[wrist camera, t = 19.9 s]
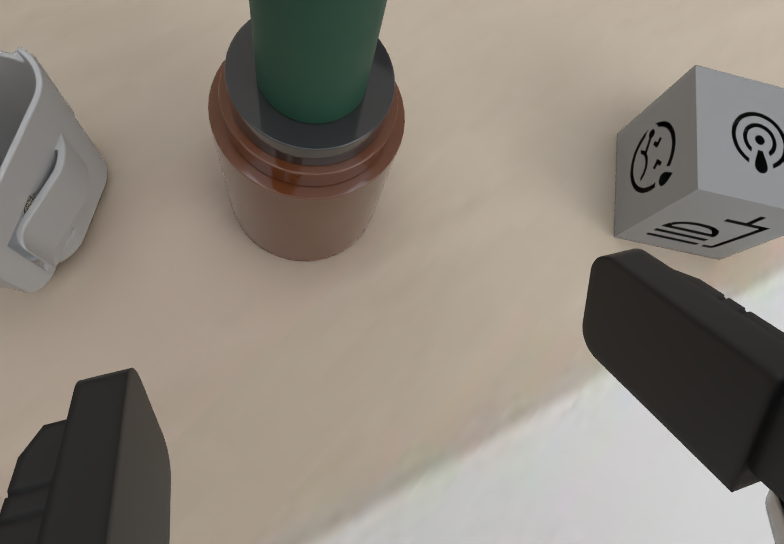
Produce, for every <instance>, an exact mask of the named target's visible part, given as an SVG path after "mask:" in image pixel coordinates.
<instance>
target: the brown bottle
mask: <svg viewBox="0 0 784 544" xmlns="http://www.w3.org/2000/svg"><path fill="white" fill-rule="evenodd" d="M208 110H209V120H210V124H211V129H212V133H213V136H214V140H215V144H216V148H217V152H218V155H219V159H220V163H221V167H222V171H223V174H224V178H225V182H226V186H227V190H228V193H229V197H230V201H231V205H232V209H233V212H234V215H235V217H236V220H237V221H238V223H239V225H240V227H241V228H242V230H243V231H244V232H245V234H246V235H247V236H248V237H249V238H250V239H251V240H252V241H253V242H254V243H255V244H257V245H258V246H259V247H261V248H262V249H264V250H266V251H267V252H269V253H271V254H274V255H276V256H278V257H282V258H285V259H289V260H296V261H314V260H320V259H325V258H328V257H331V256H334V255H336V254H338V253H340V252H342V251H344V250H345V249H347V248H348V247H349V246H351V245H352V244H353V243H354V242H355V241H356V240H357V239H358V238H359V237H360V236H361V235H362V233H363V232H364V230H365V229H366V227H367V225H368V223H369V221H370V219H371V216H372V214H373V211H374V209H375V206H376V204H377V201H378V199H379V196H380V194H381V191H382V189H383V186H384V184H385V181H386V179H387V176H388V174H389V171H390V169H391V166H392V164H393V161H394V159H395V156H396V154H397V151H398V149H399V146H400V144H401V140H402V136H403V133H404V123H405V117H404V107H403V101H402V97H401V94H400V91H399V89H398V86H397V84H396V82H395V76H394V71H393V66H392V63H391V60H390V57H389V55H388V53H387V51H386V49H385V47H384V46H383V44H382V43H381V41H380V40H379V39H378V41H377V45H376V50H375V54H374V58H373V63H372V67H371V71H370V76H369V80H368V84H367V88H366V92H365V95H364V97H363V99H362V101H361V102H360V104H359V105H358V106H357V107H356V108H355V109H354V110H353V111H352V112H351V113H350V114H348V115H346V116H345V117H343V118H341V119H339V120H336V121H333V122H329V123H322V124H312V123H304V122H300V121H296V120H293V119H291V118H289V117H287V116H285V115H283V114H281V113H280V112H279V111H277V110H276V109H275V108H274V107H273V106H272V105H270V104H269V102H268V101H267V100H266V99H265V97H264V96H263V94H262V92H261V90H260V88H259V86H258V82H257V78H256V68H255V57H254V47H253V36H252V25H251V19H250V20H249V21H248V22H247V23H246V24H244V25H243V26H242V27H241V29H240V30H239V31H238V32H237V34H236V35H235V37H234V38H233V40H232V42H231V44H230V46H229V49H228V51H227V55H226V59H225V61H224V62H223V63H222V64H221V66H220V68H219V70H218V71H217V73H216V75H215V77H214V80H213V82H212V85H211V90H210V94H209V104H208Z"/></svg>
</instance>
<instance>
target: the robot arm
mask: <svg viewBox="0 0 784 544" xmlns="http://www.w3.org/2000/svg"><path fill="white" fill-rule="evenodd" d="M583 335H584V339H585V342H586V345H587V347H588V349H589V350H590V352H591V353H592V355H593V356H594V357H595V358H596V359H597V360H598V361H599V362H600V363H601V364H602V365H603V366H604V367H605V368H606V369H607V370H608V371H609V372H610V373H611V374H612V375H613V376H614V377H615V378H616V379H617V380H618V381H619V382H620V383H621V384H622V385H623V386H624V387H625V388H626V389H627V390H628V391H629V392H630V393H631V394H632V395H633V396H634V397H635V398H636V399H638V400H639V401H640V402H641V403H642V404H643V405H644V406H645V407H646V408H647V409H648V410H649V411H650V412H651V413H652V414H653V415H654V416H655V417H656V418H657V419H658V420H659V421H660V422H661V423H662V424H663V425H664V426H665V427H666V428H667V429H668V430H669V431H670V432H671V433H672V434H673V435H674V436H675V437H676V438H677V439H678V440H679V441H680V442H681V443H682V444H683V445H684V446H685V447H686V448H687V449H688V450H689V451H690V452H691V453H692V454H693V455H694V456H695V457H696V458H697V459H698V460H699V461H700V462H701V463H702V464H703V465H704V466H706V467H707V468H708V469H709V470H710V471H711V472H712V473H713V474H714V475H715V476H716V477H717V478H718V479H719V480H720V481H721V482H722V483H723V484H724V485H725V486H726V487H727V488H728V489H729V490H730V491H731V492H734V491H736V490H739V489H741V488H744V487H747V486H749V485H752V484H754V483H757V482H759V481H761V482H763V483H764V484H765V485H766V486H767V487H768V488H769V489H770V490H769V492H768V494H767V497H766V502H765V504H766V510H767V514H768V518H769V522H770V526H771V530H772V534H773V537H774V541H775V544H784V332H782V331H780V330H779V329H777V328H776V327H774V326H773V325H771V324H769V323H768V322H766V321H765V320H763V319H762V318H760V317H758V316H757V315H755V314H754V313H752V312H746V311H745V308H744V307H743V306H741V305H739V304H738V303H736V302H735V301H733V300H732V299H730V298H728V299H725V297H724V294H722V293H721V292H719V291H717V290H716V289H714V288H713V287H711V286H710V285H708V284H706V283H705V282H703V281H702V280H700V279H698V278H695V277H692V276H690V275H687V274H684V273H682V272H679V271H676V270H673V269H672V268H670V267H669V266H667V265H666V264H664V263H663V262H661V261H659V260H658V259H656V258H655V257H653V256H652V255H650V254H649V253H647V252H646V251H644V250H641V249H631V250H626V251H622V252H618V253H614V254H610V255H606V256H601V257H599V258H597V259H596V260H595V261H594V263H593V265H592V268H591V273H590V279H589V286H588V292H587V299H586V305H585V312H584V318H583ZM7 492H8V498H5V500H4V503H3V506H2V509H1V512H0V544H169V539H170V495H171V470H170V461H169V455H168V450H167V446H166V442H165V439H164V436H163V434H162V431H161V429H160V426H159V424H158V421H157V419H156V416H155V414H154V411H153V409H152V406H151V404H150V401H149V399H148V396H147V394H146V391H145V389H144V386H143V384H142V381H141V379H140V377H139V375H138V373H137V371H136V370H135V369H134V368H129V369H125V370H121V371H117V372H113V373H109V374H104V375H100V376H96V377H92V378H88V379H84V380H80V381H78V382H77V383H76V385H75V388H74V392H73V396H72V400H71V404H70V408H69V412H68V416H67V420H63V421H59V422H55V423H51V424H47V425H44V426H43V427H42V428H41V429H40V431H39V432H38V433H37V434H36V436H35V437H34V438H33V440H32V441H31V442H30V443H29V445H28V446H27V447H26V448H25V450H24V451H23V452H22V454H21V455H20V456H19V457H18V460H17V463H16V466H15V469H14V472H13V475H12V478H11V481H10V485H9V488H8V491H7Z"/></svg>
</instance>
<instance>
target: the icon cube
mask: <svg viewBox="0 0 784 544" xmlns="http://www.w3.org/2000/svg"><path fill="white" fill-rule="evenodd" d="M783 235H784V88H781V87H778V86H774V85H770V84H766V83H762V82H759V81H755V80H751V79H747V78H744V77H740V76H736V75H732V74H728V73H725V72H721V71H717V70H713V69H709V68H706V67H702V66H698V65H695V66H694V67H693V68H691V69H690V70H689V71H688V72H687V73H686V74H685V75H683V76H682V77H681V78H680V79H679V80H678V81H677V82H676V83H674V84H673V85H672V86H671V87H670V88H669V89H668V90H666V91H665V92H664V93H663V94H662V95H661V96H660V97H659V98H657V99H656V100H655V101H654V102H653V103H652V104H651V105H649V106H648V107H647V108H646V109H645V110H644V111H643V112H642V113H640V114H639V115H638V116H637V117H636V118H635V119H634V120H632V121H631V122H630V123H629V124H628V125H627V126H626V127H625V128H623V129H622V130H621V131H620V132H619V133H618V134H617V159H616V194H615V228H614V237H617V238H621V239H626V240H631V241H635V242H640V243H645V244H649V245H654V246H659V247H663V248H668V249H673V250H677V251H682V252H687V253H691V254H696V255H701V256H705V257H710V258H715V259H719V260H720V259H723V258H725V257H728V256H731V255H733V254H736V253H739V252H741V251H744V250H746V249H749V248H752V247H754V246H757V245H760V244H762V243H765V242H767V241H770V240H773V239H775V238H778V237H781V236H783Z"/></svg>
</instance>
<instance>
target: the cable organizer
mask: <svg viewBox="0 0 784 544" xmlns="http://www.w3.org/2000/svg"><path fill="white" fill-rule="evenodd" d="M106 181H107V167H106V163H105V161H104V158H103V157H102V155H101V154H100V152H99V151H98V149H97V148H96V147H95V145H94V144H93V142H92V141H91V139H90V138H89V137H88V135H87V134H86V132H85V131H84V129H83V128H82V127H81V125H80V124H79V122H78V121H77V119H76V118H75V115H74V112H73V110H72V109H71V108H70V106H69V105H68V103H67V102H66V100H65V99H64V97H63V96H62V95H61V93H60V92H59V90H58V89H57V87H56V86H55V84H54V83H53V82H52V80H51V79H50V77H49V76H48V74H47V73H46V71H45V70H44V69H43V67H42V66H41V64H40V63H39V61H38V60H37V58H36V57H35V56H34V55H33V54H30V53H28V52H27V51H26V50H24V49H23V48H22V47H18V49H17V51H15V52H13V53H12V54H11V53H5V52H1V51H0V286H2V287H6V288H11V289H15V290H19V291H24V292H28V293H32V292H35V291H37V290H39V289H41V288H42V287H44V286H45V285H46V284H47V283H48V282H49V281H50V279H51V278H52V276H53V274H54V271H55V270H56V266H57V264H58V263H60V262H62V261H64V260H66V259H67V258H69V257H70V256H71V255H72V254H73V253H74V252H75V251H76V250H77V249H78V248H79V246H80V245H81V243H82V242H83V239H84V237H85V235H86V232H87V230H88V227H89V225H90V222H91V220H92V217H93V215H94V212H95V210H96V207H97V205H98V202H99V200H100V197H101V194H102V192H103V189H104V187H105V184H106ZM29 195H30V196H31V197H32V198H33V199H34V201H33V202H32V204H31V205H30V207H29V208H28V210H27V211H26V213H25V209H24V207H25V204H26V202H27V200H28V198H29Z"/></svg>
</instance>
